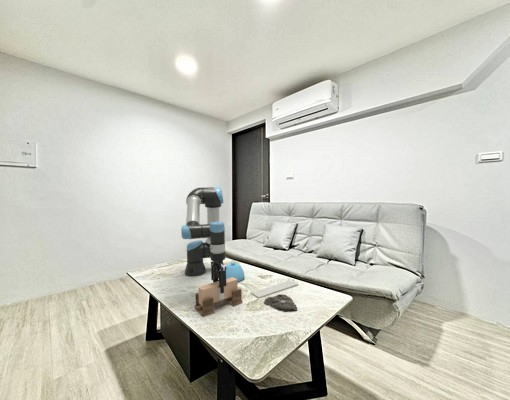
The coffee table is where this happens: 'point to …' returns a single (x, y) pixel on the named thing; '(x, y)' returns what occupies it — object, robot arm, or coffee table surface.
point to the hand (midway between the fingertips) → (218, 296)
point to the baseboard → (274, 289)
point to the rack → (208, 303)
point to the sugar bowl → (234, 271)
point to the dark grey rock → (281, 303)
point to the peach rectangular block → (217, 290)
